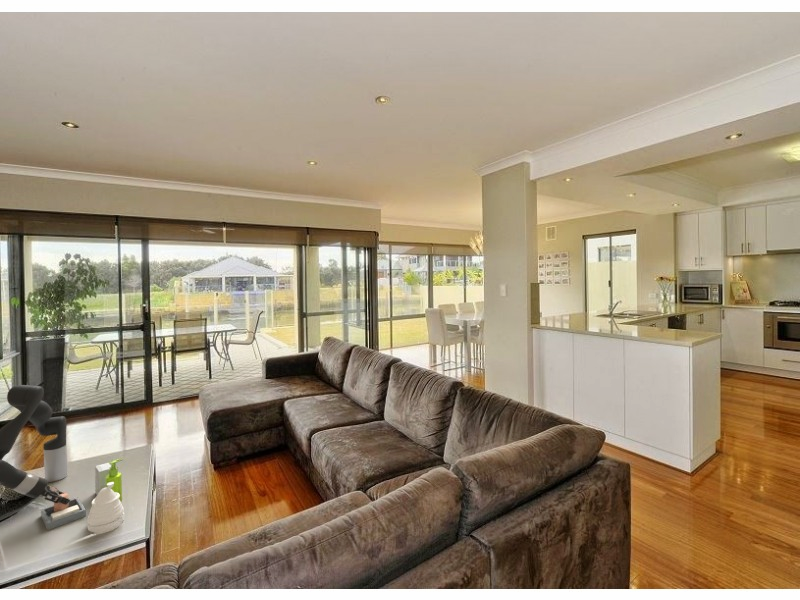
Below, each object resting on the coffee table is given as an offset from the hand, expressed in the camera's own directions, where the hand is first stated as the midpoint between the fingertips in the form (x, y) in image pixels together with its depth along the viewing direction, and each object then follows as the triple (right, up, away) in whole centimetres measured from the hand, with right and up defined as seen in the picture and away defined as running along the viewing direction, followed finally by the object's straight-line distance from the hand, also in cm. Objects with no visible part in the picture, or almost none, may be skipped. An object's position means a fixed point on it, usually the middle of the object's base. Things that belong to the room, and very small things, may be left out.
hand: (66, 499), depth 177 cm
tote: (+1, -7, -3) cm, 8 cm away
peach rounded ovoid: (-1, -6, -1) cm, 6 cm away
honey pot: (+24, -8, -7) cm, 26 cm away
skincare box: (+6, -6, +15) cm, 18 cm away
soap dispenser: (+15, -7, +11) cm, 19 cm away
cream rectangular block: (+4, -6, -5) cm, 9 cm away
